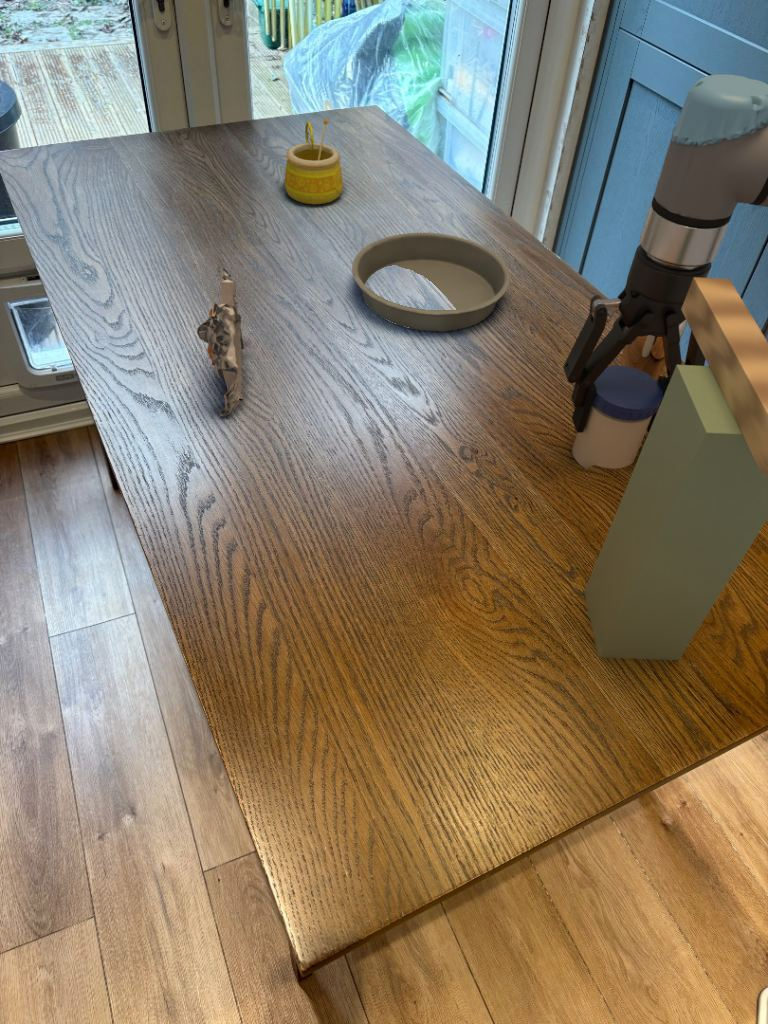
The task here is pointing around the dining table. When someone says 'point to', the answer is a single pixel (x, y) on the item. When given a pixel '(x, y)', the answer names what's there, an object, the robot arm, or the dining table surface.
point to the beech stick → (733, 356)
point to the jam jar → (608, 440)
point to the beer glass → (647, 354)
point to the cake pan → (436, 278)
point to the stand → (677, 525)
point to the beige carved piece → (225, 341)
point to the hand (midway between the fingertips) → (613, 425)
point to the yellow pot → (313, 171)
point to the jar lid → (627, 393)
